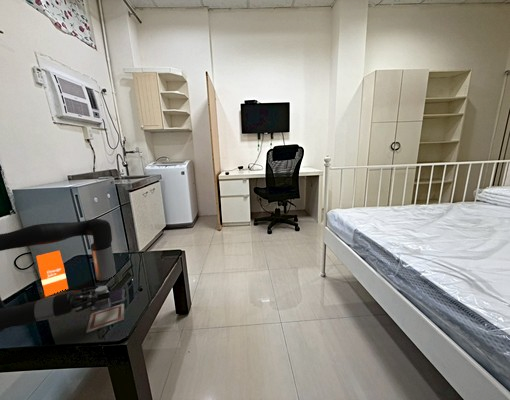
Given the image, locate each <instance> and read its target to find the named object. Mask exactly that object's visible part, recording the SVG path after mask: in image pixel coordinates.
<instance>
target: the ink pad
mask: <svg viewBox="0 0 510 400" xmlns="http://www.w3.org/2000/svg"><path fill="white" fill-rule="evenodd" d="M109 293H110V301H111V306H112V305H115V304H118V303H121V302H124V301H125V288H119V289H117V290H111V291H110V292H109ZM95 310H97V307H96V305H94V306H92V307H91V311H95Z"/></svg>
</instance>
